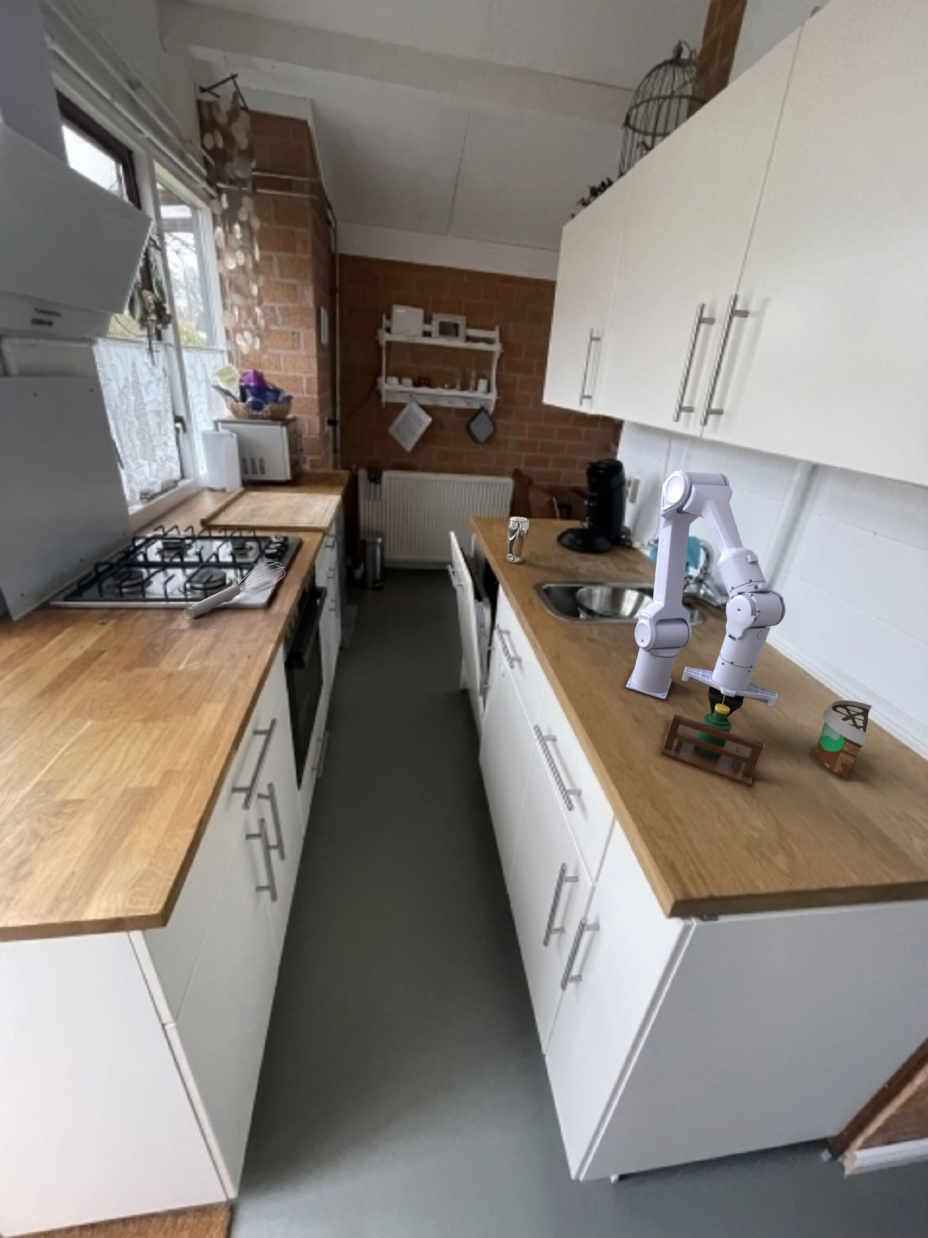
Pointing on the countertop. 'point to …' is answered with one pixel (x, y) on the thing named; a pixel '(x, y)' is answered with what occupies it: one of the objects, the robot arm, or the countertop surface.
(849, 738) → the food container
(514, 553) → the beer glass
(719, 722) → the bottle
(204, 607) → the kitchen whisk
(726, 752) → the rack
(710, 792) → the countertop surface
